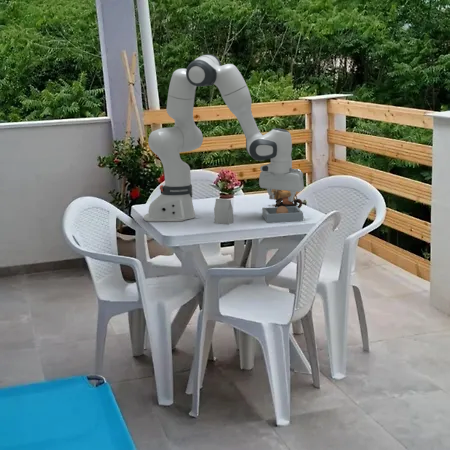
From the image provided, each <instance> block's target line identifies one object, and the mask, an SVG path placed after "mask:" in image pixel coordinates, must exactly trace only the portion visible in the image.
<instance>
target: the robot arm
mask: <svg viewBox="0 0 450 450" xmlns="http://www.w3.org/2000/svg"><path fill="white" fill-rule="evenodd" d="M169 81H170V82H169V87H168V93H167V102H166V113H167V115H168V116H169V117H170V118H171V119H172V120H174V125H173V126H172V127H171V126H169V127H161V128H158V129H156V130H153V131H151V132H150V134H149V136H148V139H147V140H148V141H147V142H148V147H149V149H150V151H152V153H154V154H155V155H156V157H158V158H159V159H160V161H161V164H162V167H163V173H164V185H160V186H159V190H160V194H159V195H158V196H157V197H156V198H155V199H154V200H153V201H151V203H149V207H148V213H146V214H144V215H143V220H144V221H145V222H183V221H187V220H190V219H195V218H196V216H197V215H196V212H195V209H194V208H195V207H194V203H193V186H192V185H193V184H192V180H191V167H190V165H189V164H188V163H186V162H185V161H183V159H181V155H180V154H181V153H186V152H192V151H194V150H197V149H199V148H201V146H202V144H203V141H204V136H203V133H202V131H201V128H199V127H198V126H197V125H196V123H195V120H194V105H195V97H196V89H197V87H208V86H214V85H215V86H216V87H217V88H218V91H219V93H220V96H221V97H222V100H223V102H224V103H225V105H226V107H227V108H228V109H229V111H230V112H231V113H232V114H233V116H235V117H236V119H237V120H238V123H239V125H240V127H241V129H242V132H243V134H244V137H245V148H246V153H247V154H248V155H249V156H250V157H251V158H252V159H253V160H255V161H259V162H262V161H263V162H264V161H267V160H270V163H267V164H263V165H261V166H260V168H259V169H260V173H259V175H258V177H259V178H258V179H259V180H258V184H259V185H258V186H259V187H260V188H261V189H266V192H267V194H268V195H269V197H268V198H269V200H274V195H273V194H272V189H276V190H281V191H285V192H286V191H290V192H291V196H290V197H288V199H289V200H288V201H290V202H292V201H293V197H295V194H296V195H297V193H299V192H302V191H304V188H305V185H304V173H303V171H302V170H301V169H299V168H293V158H292V151H293V144H292V143H293V141H292V140H293V139H292V135H291V133H290V131H288V130H287V129H284V128H280V127H279V128H277V127H274V128H272V129H271V130H270V131H268V132H267V133H265V134H263V133H261V131H260V130H259V127H258V125H257V123H256V121H255V118H254V115H253V112H252V103H253V101H252V97H251V93H250V90H249V87H248V85H247V83H246V81H245V79H244V77H243V75H242V73H241V72H240V71H239V69H238V68H237V66H236V65H234V64H233V63H227V64H226V63H225V64H223V65H222V63H221V61H220V59H219V58H218V57H217V56H216V55H214V54H210V53H206V54H203V55H200V56H198V57H196V58H195V59H194V60H192V61H191V62H190V63H189V64H188V66H187V67H186V68H177V69H176V70H174V71H173V73H172V75H171V77H170V80H169Z"/></svg>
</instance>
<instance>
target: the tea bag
mask: <svg viewBox="0 0 450 450" xmlns="http://www.w3.org/2000/svg"><path fill="white" fill-rule="evenodd" d="M233 209H234V208H233V205H232V202H231V199H228V198H215V203H214V207H213V214H214V215H213V218H214V224H223V225H230V224H232V223H233V224H234V210H233Z"/></svg>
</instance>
